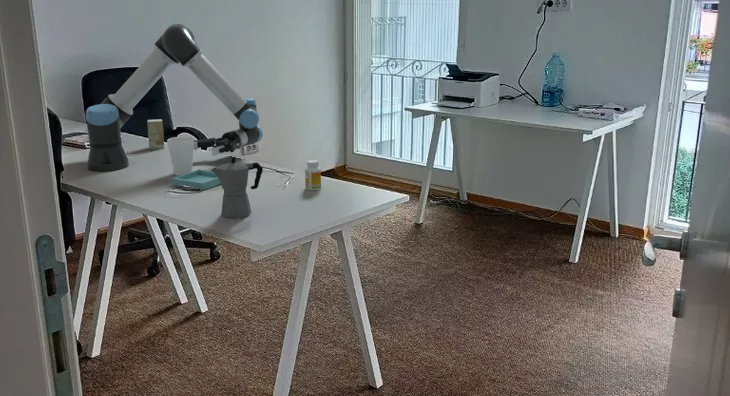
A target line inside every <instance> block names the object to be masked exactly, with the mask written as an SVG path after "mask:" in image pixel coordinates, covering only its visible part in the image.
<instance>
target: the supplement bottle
mask: <svg viewBox="0 0 730 396" xmlns="http://www.w3.org/2000/svg"><path fill="white" fill-rule="evenodd" d="M319 163H320V162H319V160H318V159H316V160H315V159H309V160H307V161H306V167H305V168H304V178H305V179H304V180H305V182H304V184H305V189H306V190H307V191H319V190H320V189H322V175H321V174H322V171H321V170H322V169H321V167H320V166H319V165H320V164H319Z"/></svg>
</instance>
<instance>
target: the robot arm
mask: <svg viewBox="0 0 730 396" xmlns="http://www.w3.org/2000/svg"><path fill="white" fill-rule="evenodd" d="M153 45H154V46H153V47H154V50H153V51H152V52H151V53H150V54H149V55H148V56H147V58H146V59H145V60H144V61H143V62H142V63H141V64H140V66H138V68H137V69H135V71H134V72H133V73H132V74H131V75H130V76H129V78H128V79H127V80H126V81H125V82H124V83H123V84H122V85H121V87H120V88H119V89H118V90H117V91H116V93H113V94H108V95H107V97H106V98H104V100H103V101H102V102H101V103H100V104H94V105H91V106H89V107H87V109H86V111H85V119H86V126H87V135H88V140H89V141H88V143H89V151H88V152H89V153H88V157H87V158H88V159H87V161H86V165H87V169H88V170H90V171H94V172H106V171H116V170H121V169H124V168H127V167H128V166H129V158H128V157H127V154H126V152H125V150H124V147H123V142H122V132H121V128H122V127H123V126H124V125H125V124H126V122H128V120H129V119H130V118H131V117H132V116H133V115H134V110H133V108H135V106H136V105H137V104H139V102H140V101H141V100H142V98H143V97H144V96H146V94H147V93H148V92H149V91H150V89H152V87H153V86H154V85H155V84H156V83H157V82H158V81H159V80H160V79H161V78H162V76H163V75H164V74H165V73H166V72H167V70H168V69H169V68H170V67H172V65H178V64H180V65H181V66H182V67H185V68H188V69H189V71H191V73H192V74H193V75H195V77H197V79H198V80H200V82H201V83H202V84H204V86H205V87H206V88H207V89H208V90H209V91H210V92H211V93H212V94H213V95H214V96H215V97H216V98H217V100H219V102H221V103H222V105H224V106H225V108H227V110H228V111H229V112H230V113H231V114H232V115H233V116H234V117H235V118H236V120H238V129H234V130H231V131H227V132H224V133H223V134H222V136H221V137H218V138H216V137H211V138H205V139H202V138H201V139H198V140H197V139H196V140H194V146H193V151H197V150H198V149H199V148H201V149H202V148H211V156H212V157H215V156H218V155H220V154H224V153H229V152H230V153H233V152H234V153H235V151H236V150H237V149H238V150H240V149H241V148H243V147H247V146H251V145H254V144H257V143H259V142H260V141H261V140H262V139H263V136H264V135H263V134H264V133H263V130H262V128H261V126H259V125H258V124H259V121H260V115H259V113H258V111H257V101H256V99H255V98H253V97H243V96H242V94H241V93H240V92H239V91H237V89H236V88H235V87H234V86H233V85H232V84H231V83H230V82H229V81H228V80H227V79H226V78H225V76H224V75H222V74H221V72H220V71H219V70H218V69H217V68H216V67H215V66H214V65H213V64H212V63H211V62H210V60H209V59H207V57H206V56H205V55H203V53H202V52H203V50H202V48H201V47H200V46H199V45H198V44H197V43H196V41H195V35H194V34H193V32H192V31H191V29H190V28H189V27H188V26H186V25H184V24H179V23H175V24H172V25H169V26H168V27H167V28H166V30H165V31H164V32H163V34H162V35H161V36H160V37H159V38H158V39H157V40H156V41H155V42H154V43H153Z"/></svg>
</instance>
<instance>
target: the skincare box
mask: <svg viewBox="0 0 730 396" xmlns="http://www.w3.org/2000/svg"><path fill="white" fill-rule="evenodd" d="M147 136H148V137H147V138H148V147H149V150H159V149H165V140H164V139H165V137H164V124H163V119H161V118H159V119H147Z"/></svg>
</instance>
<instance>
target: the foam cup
mask: <svg viewBox="0 0 730 396" xmlns="http://www.w3.org/2000/svg"><path fill="white" fill-rule="evenodd" d="M194 139H195V138H193V136H192V137H190V136H175V137H170V138H168V139H167V140H166V143H167V144H166V145H167V148H168V150H169V157H170V160H171V164H172V169H173V173H174V175H175V174H176V176H179V175H184V174H187V173H190V172H193V163H194V162H193V161H194V159H193V156H194V150H193V146H194Z"/></svg>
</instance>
